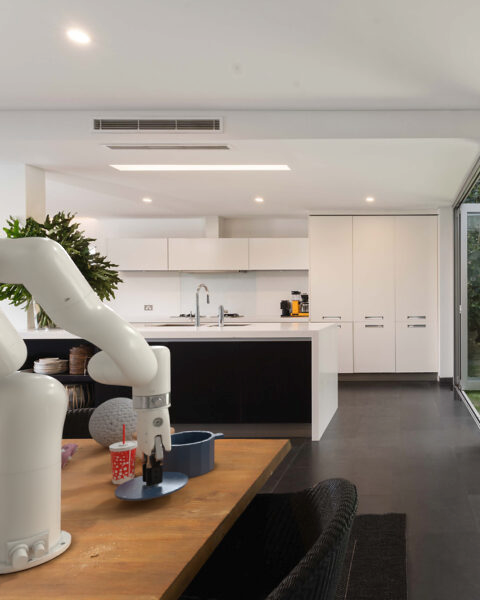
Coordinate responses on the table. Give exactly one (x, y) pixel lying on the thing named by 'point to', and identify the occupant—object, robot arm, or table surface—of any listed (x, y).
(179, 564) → the table surface
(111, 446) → the beverage cup
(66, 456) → the video game controller
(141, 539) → the table surface
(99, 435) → the decorative ball
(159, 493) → the lid
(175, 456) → the pot
